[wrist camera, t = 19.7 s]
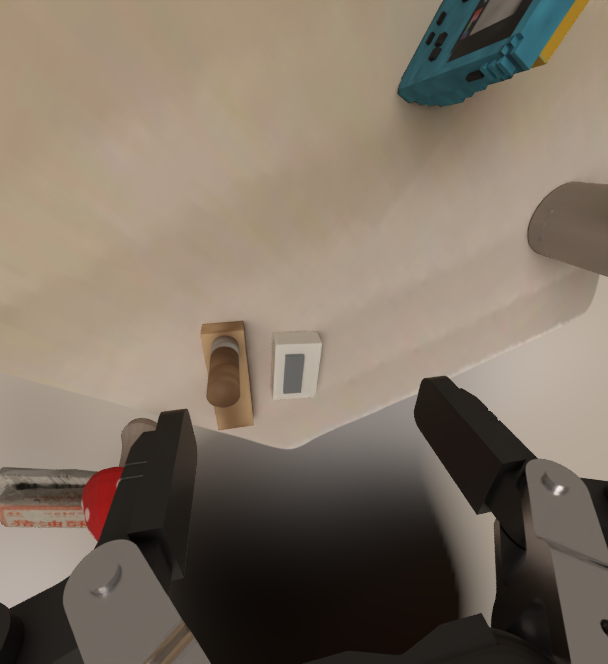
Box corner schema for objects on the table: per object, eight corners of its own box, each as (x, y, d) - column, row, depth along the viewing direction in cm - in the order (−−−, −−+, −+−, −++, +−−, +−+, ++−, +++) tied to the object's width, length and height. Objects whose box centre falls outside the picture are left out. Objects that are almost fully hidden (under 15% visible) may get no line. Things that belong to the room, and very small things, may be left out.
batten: (242, 320, 40) (243, 330, 37) (252, 413, 48) (253, 425, 45) (202, 324, 39) (200, 334, 37) (219, 417, 47) (218, 430, 45)
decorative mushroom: (190, 443, 48) (175, 547, 35) (137, 462, 48) (103, 574, 35) (156, 399, 43) (123, 503, 30) (96, 420, 43) (39, 535, 30)
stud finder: (315, 329, 43) (323, 345, 39) (309, 381, 47) (316, 399, 44) (272, 330, 41) (276, 347, 38) (270, 384, 46) (273, 403, 42)
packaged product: (132, 500, 46) (125, 538, 50) (141, 471, 50) (134, 509, 54) (-23, 496, 40) (-16, 540, 44) (1, 464, 44) (5, 507, 48)
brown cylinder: (237, 334, 37) (238, 380, 30) (239, 355, 39) (241, 405, 31) (209, 336, 37) (204, 384, 29) (213, 358, 39) (209, 409, 31)
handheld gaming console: (453, -29, 27) (651, -189, 14) (483, 7, 29) (685, -109, 16) (389, 92, 30) (502, 50, 18) (419, 118, 32) (542, 96, 19)
